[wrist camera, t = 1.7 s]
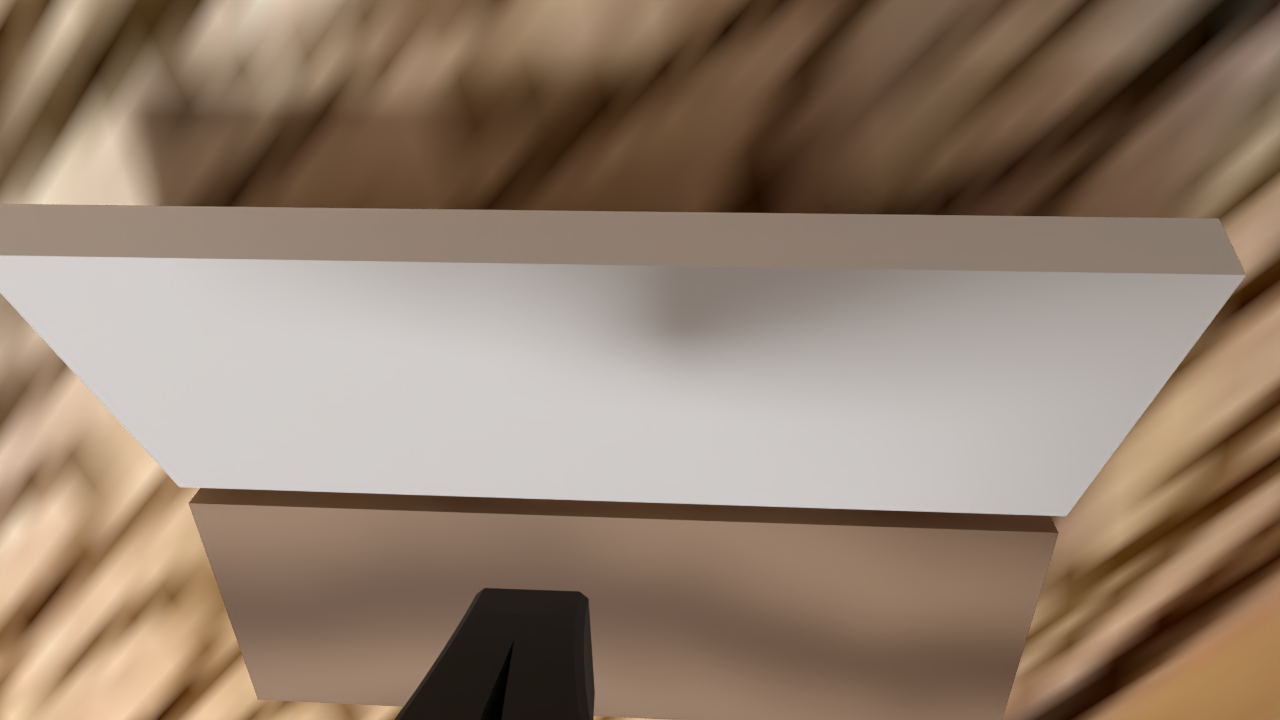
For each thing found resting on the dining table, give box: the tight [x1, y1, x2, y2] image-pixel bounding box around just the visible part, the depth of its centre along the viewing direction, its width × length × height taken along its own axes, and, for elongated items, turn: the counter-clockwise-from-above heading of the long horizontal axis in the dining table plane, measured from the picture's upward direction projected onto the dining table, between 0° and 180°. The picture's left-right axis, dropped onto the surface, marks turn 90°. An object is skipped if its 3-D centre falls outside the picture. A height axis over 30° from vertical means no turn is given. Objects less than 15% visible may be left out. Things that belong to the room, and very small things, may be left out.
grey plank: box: [0, 204, 1246, 516], centre depth 17 cm, size 8×20×1 cm, turn 91°
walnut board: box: [189, 488, 1058, 720], centre depth 23 cm, size 7×20×1 cm, turn 91°
